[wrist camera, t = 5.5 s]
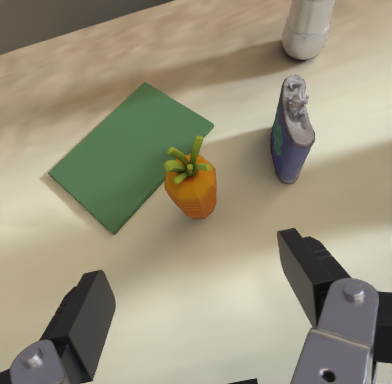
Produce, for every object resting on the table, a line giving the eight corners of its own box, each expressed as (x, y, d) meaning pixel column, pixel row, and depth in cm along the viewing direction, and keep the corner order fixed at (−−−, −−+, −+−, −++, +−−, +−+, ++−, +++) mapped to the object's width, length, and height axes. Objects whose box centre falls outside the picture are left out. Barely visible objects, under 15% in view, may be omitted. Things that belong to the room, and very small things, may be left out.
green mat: (214, 127, 40) (213, 123, 39) (114, 234, 35) (112, 233, 34) (146, 85, 44) (144, 81, 44) (51, 175, 40) (47, 172, 39)
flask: (299, 184, 34) (323, 133, 25) (274, 185, 35) (289, 136, 25) (289, 123, 38) (307, 58, 28) (267, 125, 38) (277, 61, 29)
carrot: (213, 189, 36) (199, 114, 22) (228, 223, 34) (223, 164, 20) (177, 204, 36) (140, 137, 22) (190, 239, 34) (159, 190, 20)
